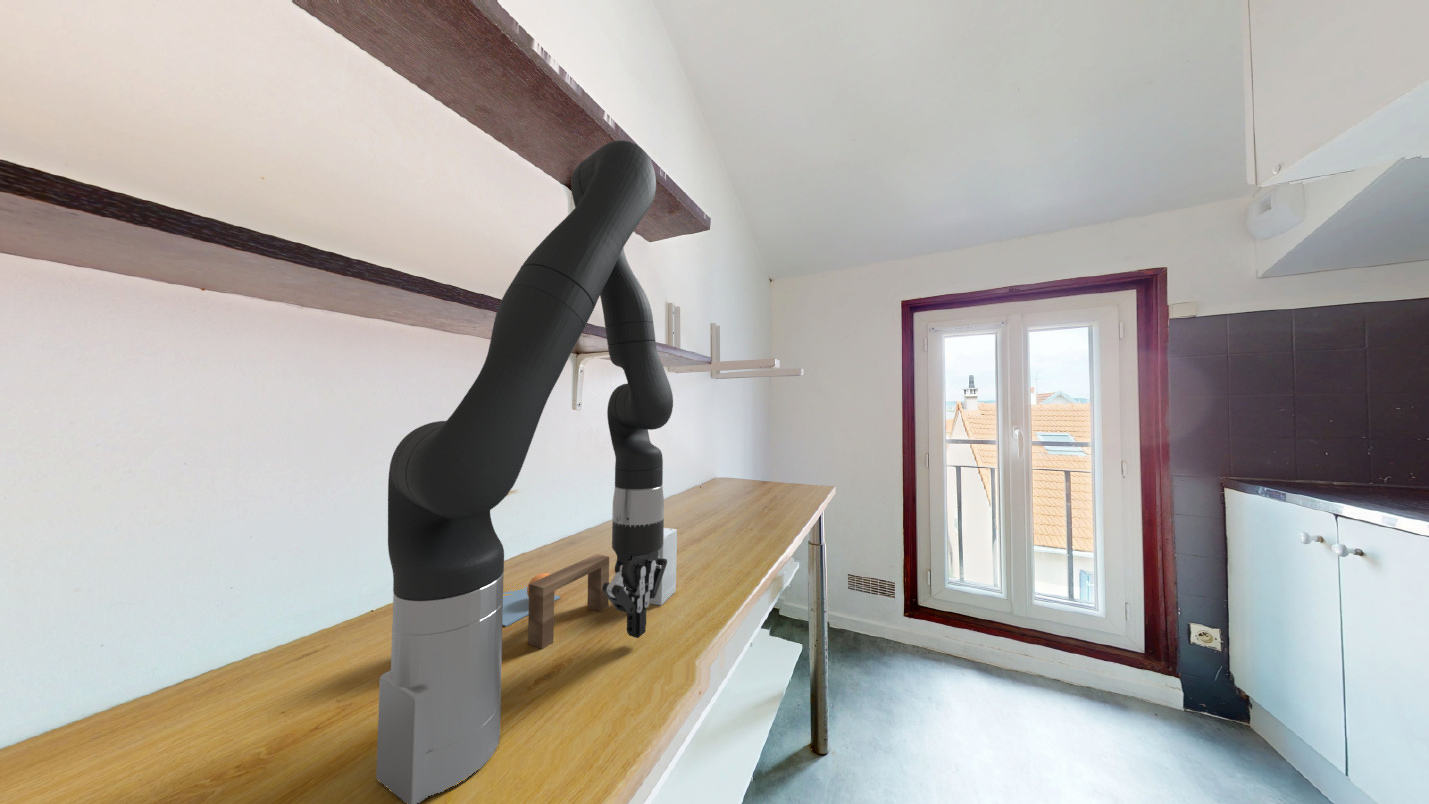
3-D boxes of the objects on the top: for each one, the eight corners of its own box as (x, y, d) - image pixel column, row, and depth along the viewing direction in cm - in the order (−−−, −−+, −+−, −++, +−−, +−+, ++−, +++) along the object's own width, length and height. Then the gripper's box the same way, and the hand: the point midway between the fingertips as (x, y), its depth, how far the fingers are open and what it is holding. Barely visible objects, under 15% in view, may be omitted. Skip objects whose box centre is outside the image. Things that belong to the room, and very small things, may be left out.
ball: (518, 588, 71) (530, 614, 69) (527, 575, 68) (539, 600, 66) (544, 576, 75) (556, 600, 73) (553, 563, 72) (565, 587, 70)
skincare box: (656, 588, 76) (657, 526, 77) (677, 592, 75) (678, 528, 75) (640, 603, 70) (641, 535, 71) (662, 607, 69) (663, 538, 69)
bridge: (608, 606, 69) (609, 556, 69) (542, 649, 56) (543, 588, 57) (595, 602, 70) (596, 553, 71) (527, 643, 58) (529, 584, 58)
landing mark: (505, 626, 62) (506, 625, 62) (463, 610, 67) (463, 609, 67) (560, 597, 72) (560, 596, 72) (520, 585, 77) (520, 584, 77)
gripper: (630, 531, 51) (628, 667, 50) (682, 509, 62) (681, 619, 62) (586, 523, 54) (584, 651, 53) (644, 504, 66) (643, 608, 65)
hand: (636, 634), depth 58 cm, fingers closed
